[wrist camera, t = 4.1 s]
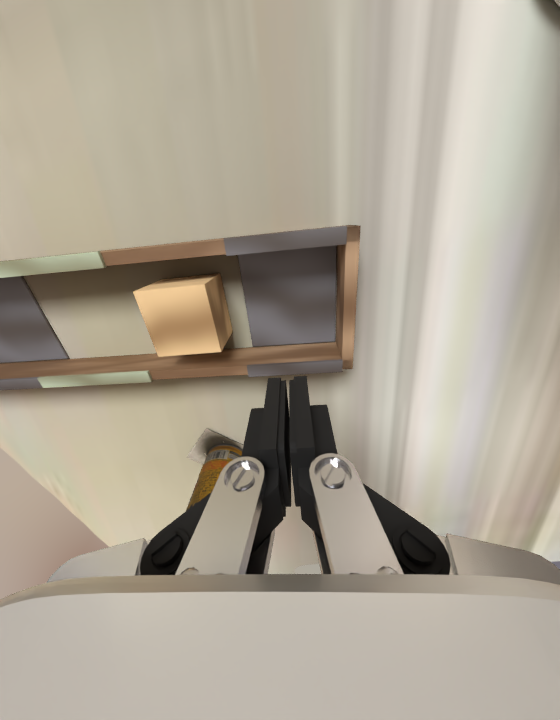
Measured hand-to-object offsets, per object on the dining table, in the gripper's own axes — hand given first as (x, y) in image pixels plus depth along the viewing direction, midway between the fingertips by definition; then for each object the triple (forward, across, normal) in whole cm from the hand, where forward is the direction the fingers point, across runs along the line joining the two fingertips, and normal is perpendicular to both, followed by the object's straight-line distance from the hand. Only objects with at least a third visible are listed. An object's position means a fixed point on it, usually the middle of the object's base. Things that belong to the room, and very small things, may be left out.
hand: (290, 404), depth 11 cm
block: (+16, +9, -1) cm, 19 cm away
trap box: (+16, +17, -1) cm, 24 cm away
